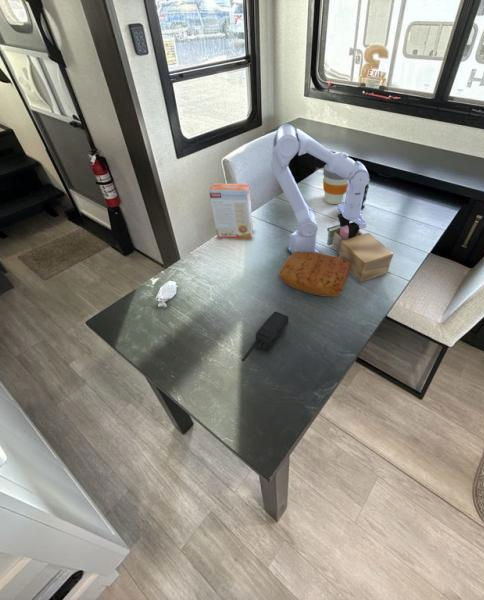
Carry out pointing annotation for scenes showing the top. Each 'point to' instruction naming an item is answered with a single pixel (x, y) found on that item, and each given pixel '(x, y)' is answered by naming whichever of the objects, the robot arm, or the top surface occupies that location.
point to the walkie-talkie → (269, 332)
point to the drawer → (336, 237)
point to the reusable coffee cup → (334, 186)
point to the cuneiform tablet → (315, 273)
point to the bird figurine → (166, 292)
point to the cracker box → (232, 210)
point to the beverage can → (365, 196)
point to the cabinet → (365, 256)
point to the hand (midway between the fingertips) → (347, 235)
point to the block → (344, 232)
